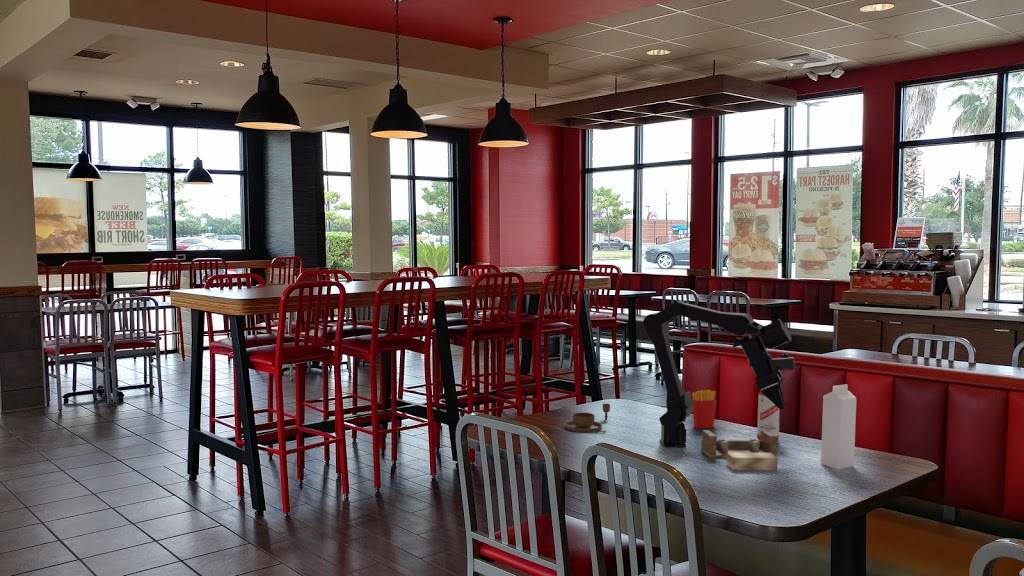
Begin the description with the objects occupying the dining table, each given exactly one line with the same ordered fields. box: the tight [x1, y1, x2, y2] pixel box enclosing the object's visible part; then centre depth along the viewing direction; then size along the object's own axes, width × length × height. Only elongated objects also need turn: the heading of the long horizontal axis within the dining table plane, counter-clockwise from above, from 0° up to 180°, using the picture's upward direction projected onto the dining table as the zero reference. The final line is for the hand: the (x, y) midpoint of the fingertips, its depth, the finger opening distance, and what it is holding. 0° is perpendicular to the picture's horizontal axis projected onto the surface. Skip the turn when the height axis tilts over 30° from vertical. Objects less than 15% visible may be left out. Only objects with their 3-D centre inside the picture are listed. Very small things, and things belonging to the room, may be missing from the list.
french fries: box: [691, 389, 718, 429], centre depth 258 cm, size 8×4×12 cm, turn 111°
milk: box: [820, 383, 857, 471], centre depth 214 cm, size 6×6×22 cm
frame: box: [700, 429, 778, 459], centre depth 225 cm, size 19×8×6 cm, turn 94°
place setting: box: [564, 403, 611, 434], centre depth 256 cm, size 18×20×6 cm
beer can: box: [756, 388, 781, 443], centre depth 240 cm, size 6×6×16 cm
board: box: [726, 453, 779, 471], centre depth 213 cm, size 12×5×4 cm, turn 92°
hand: (783, 407), depth 220 cm, fingers open, 9 cm apart
